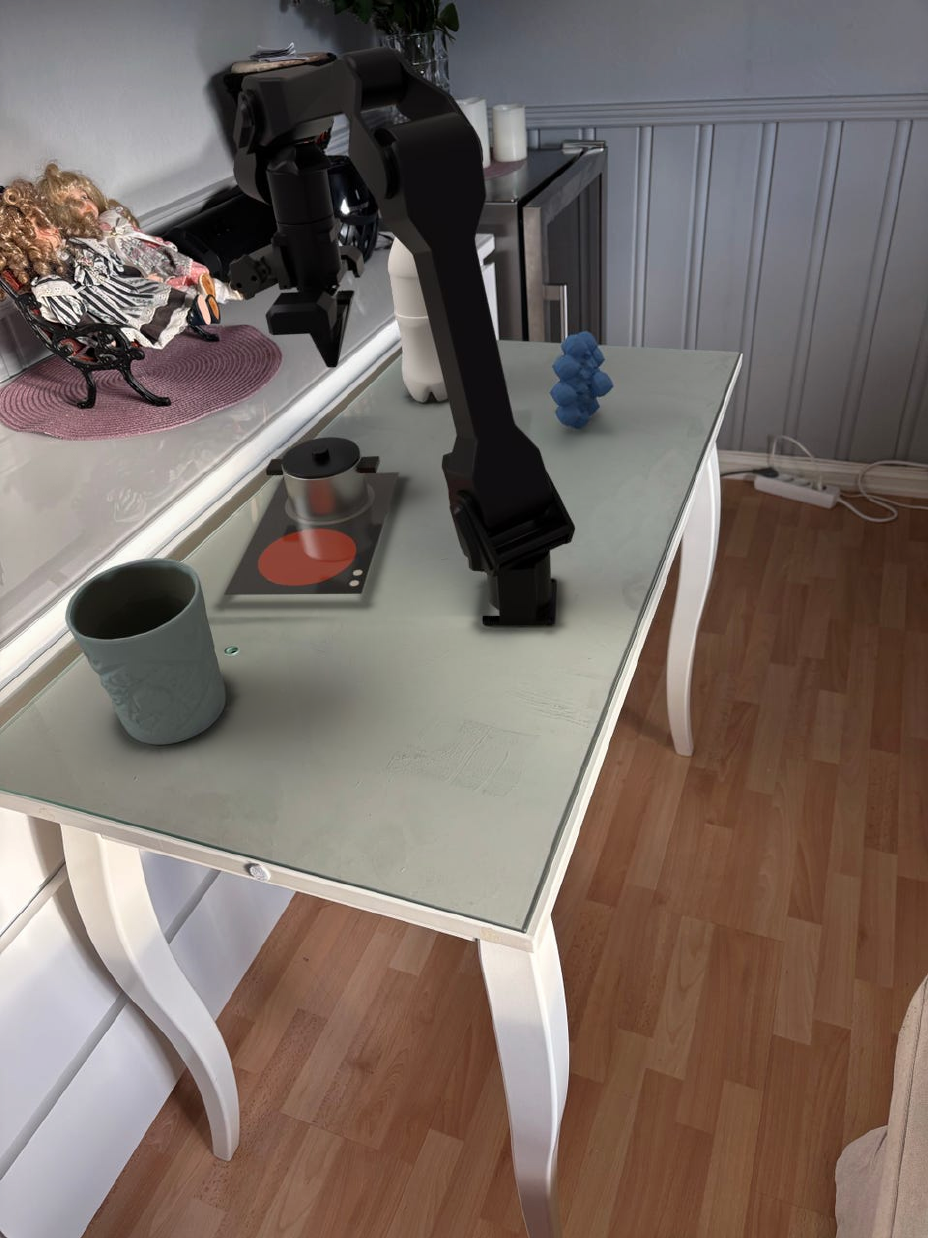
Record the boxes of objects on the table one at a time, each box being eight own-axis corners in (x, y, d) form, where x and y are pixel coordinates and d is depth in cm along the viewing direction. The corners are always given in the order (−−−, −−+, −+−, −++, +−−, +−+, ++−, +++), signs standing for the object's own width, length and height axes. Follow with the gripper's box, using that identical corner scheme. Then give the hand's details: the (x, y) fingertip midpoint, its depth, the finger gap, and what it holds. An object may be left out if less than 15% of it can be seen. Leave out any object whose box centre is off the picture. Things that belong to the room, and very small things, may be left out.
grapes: (594, 456, 103) (594, 355, 96) (539, 446, 106) (536, 347, 99) (630, 412, 111) (633, 315, 104) (578, 404, 114) (577, 309, 106)
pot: (376, 520, 94) (367, 467, 91) (267, 522, 96) (253, 470, 92) (389, 479, 101) (381, 428, 97) (287, 481, 102) (275, 431, 99)
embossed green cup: (181, 655, 82) (140, 544, 74) (262, 692, 77) (227, 578, 69) (90, 726, 75) (35, 613, 68) (173, 772, 71) (124, 655, 63)
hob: (365, 605, 85) (363, 595, 84) (222, 606, 87) (219, 596, 86) (403, 480, 103) (402, 470, 102) (284, 482, 105) (281, 473, 104)
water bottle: (399, 389, 122) (371, 189, 106) (450, 378, 123) (430, 179, 108) (413, 411, 116) (385, 203, 101) (466, 399, 118) (447, 192, 102)
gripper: (253, 195, 98) (283, 336, 108) (196, 250, 84) (237, 407, 93) (353, 188, 97) (375, 332, 106) (313, 243, 82) (342, 403, 92)
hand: (332, 366), depth 100 cm, fingers closed
